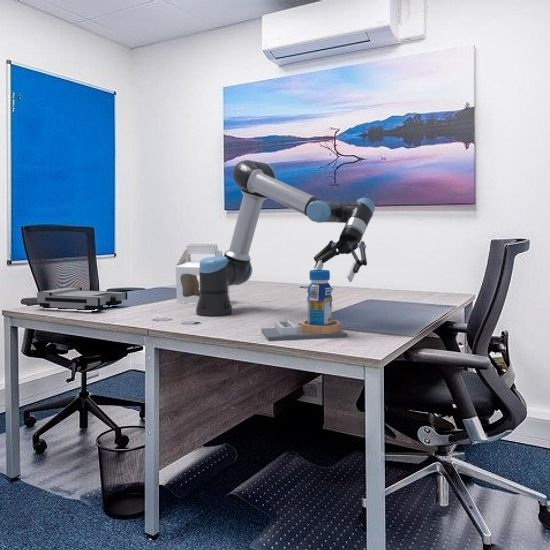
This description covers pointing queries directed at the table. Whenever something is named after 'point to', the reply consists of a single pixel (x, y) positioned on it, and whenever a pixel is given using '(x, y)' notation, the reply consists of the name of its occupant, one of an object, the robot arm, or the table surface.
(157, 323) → the table surface
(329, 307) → the beverage bottle
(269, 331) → the socket board
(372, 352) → the table surface
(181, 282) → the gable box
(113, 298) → the office tray
